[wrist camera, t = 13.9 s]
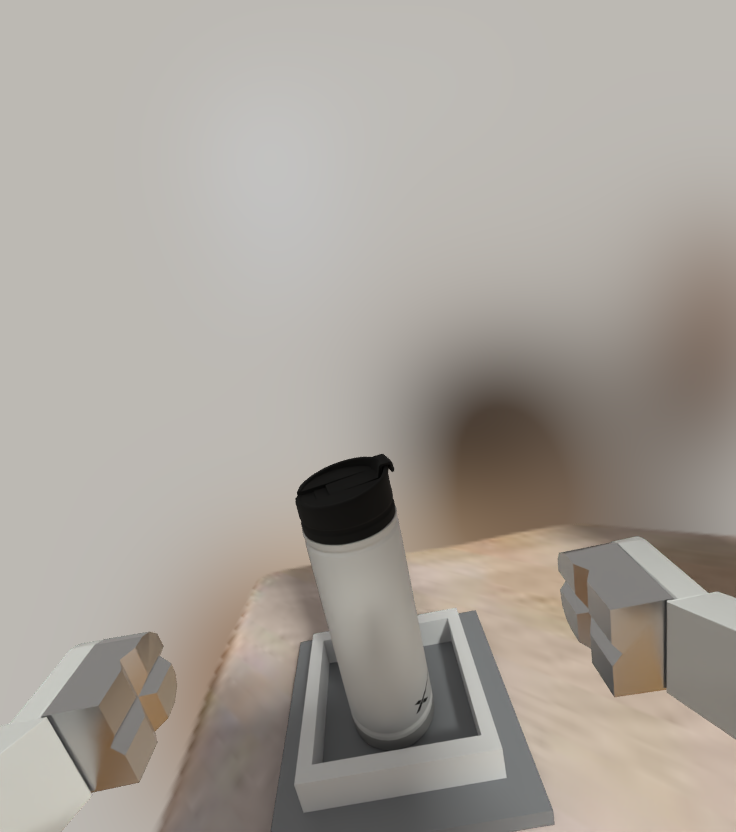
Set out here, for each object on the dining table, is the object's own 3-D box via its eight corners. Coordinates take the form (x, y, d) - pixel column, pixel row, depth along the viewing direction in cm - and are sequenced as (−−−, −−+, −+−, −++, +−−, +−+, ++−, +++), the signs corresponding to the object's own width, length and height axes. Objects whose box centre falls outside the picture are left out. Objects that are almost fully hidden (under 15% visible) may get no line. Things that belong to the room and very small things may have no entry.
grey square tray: (477, 620, 40) (472, 588, 39) (554, 824, 24) (549, 779, 23) (303, 652, 40) (294, 621, 39) (271, 872, 25) (255, 830, 24)
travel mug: (453, 728, 29) (407, 473, 24) (365, 768, 28) (295, 506, 22) (419, 660, 35) (376, 443, 30) (345, 691, 34) (285, 468, 28)
